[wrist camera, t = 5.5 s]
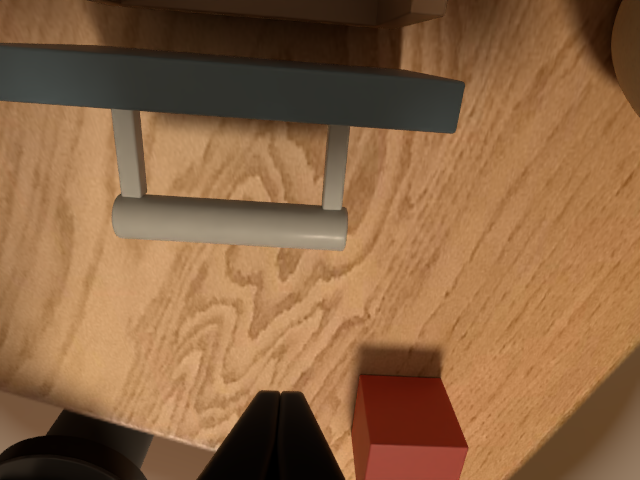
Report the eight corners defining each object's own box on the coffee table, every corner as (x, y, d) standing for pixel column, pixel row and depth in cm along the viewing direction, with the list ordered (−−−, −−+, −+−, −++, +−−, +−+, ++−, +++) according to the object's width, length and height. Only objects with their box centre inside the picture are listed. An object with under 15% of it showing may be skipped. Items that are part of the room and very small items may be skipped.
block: (426, 437, 25) (449, 513, 21) (350, 434, 25) (359, 510, 21) (441, 377, 23) (469, 447, 19) (359, 374, 23) (370, 444, 19)
